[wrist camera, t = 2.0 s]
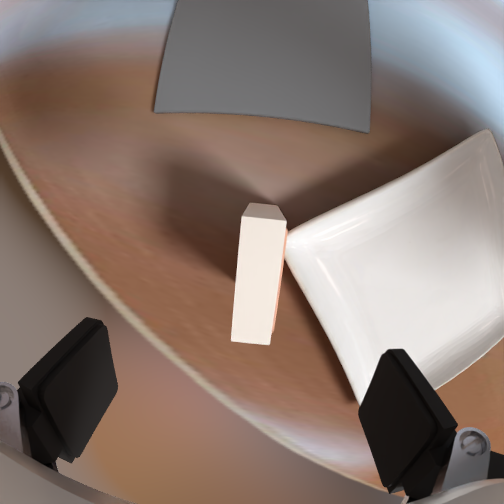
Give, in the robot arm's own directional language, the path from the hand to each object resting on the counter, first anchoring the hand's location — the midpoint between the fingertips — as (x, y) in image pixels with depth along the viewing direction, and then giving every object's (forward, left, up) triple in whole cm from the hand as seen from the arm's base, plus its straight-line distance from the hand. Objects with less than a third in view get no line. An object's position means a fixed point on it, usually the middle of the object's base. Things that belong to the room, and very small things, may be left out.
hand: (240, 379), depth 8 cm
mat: (+1, -21, -18) cm, 28 cm away
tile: (0, 0, -18) cm, 18 cm away
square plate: (-20, +2, -19) cm, 28 cm away
